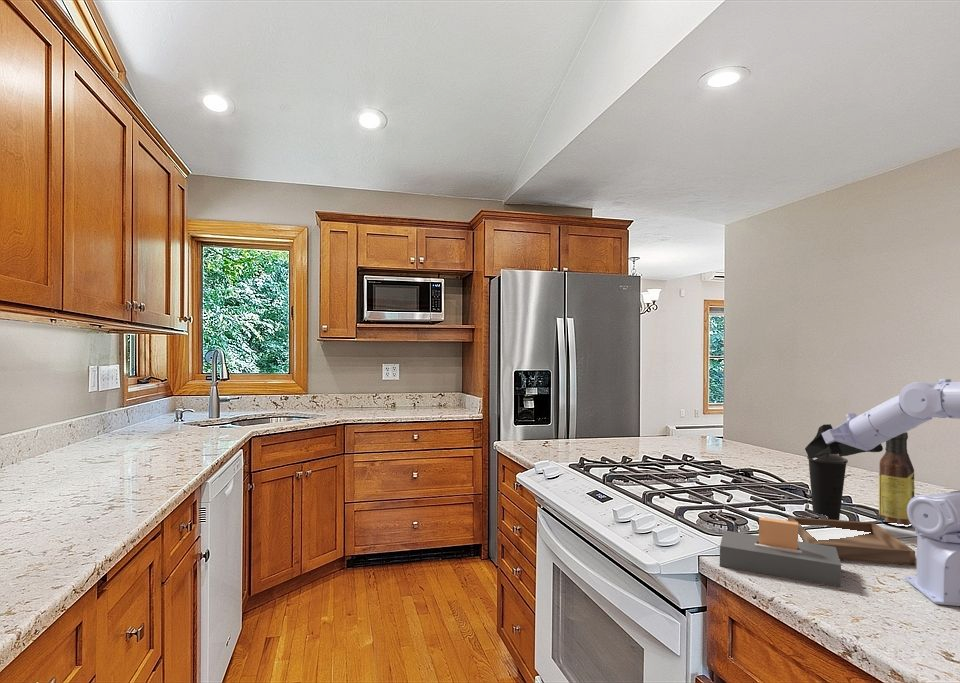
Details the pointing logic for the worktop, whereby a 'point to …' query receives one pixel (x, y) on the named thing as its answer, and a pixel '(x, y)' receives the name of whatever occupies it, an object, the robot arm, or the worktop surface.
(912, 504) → the robot arm
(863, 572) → the worktop surface
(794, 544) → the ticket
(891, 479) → the sauce bottle
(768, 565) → the dispenser
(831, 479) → the drinking cup
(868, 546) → the tray
